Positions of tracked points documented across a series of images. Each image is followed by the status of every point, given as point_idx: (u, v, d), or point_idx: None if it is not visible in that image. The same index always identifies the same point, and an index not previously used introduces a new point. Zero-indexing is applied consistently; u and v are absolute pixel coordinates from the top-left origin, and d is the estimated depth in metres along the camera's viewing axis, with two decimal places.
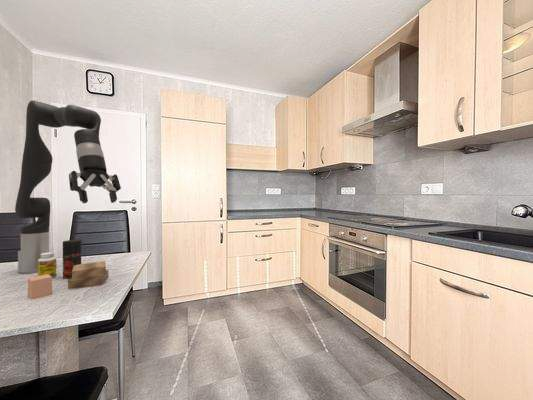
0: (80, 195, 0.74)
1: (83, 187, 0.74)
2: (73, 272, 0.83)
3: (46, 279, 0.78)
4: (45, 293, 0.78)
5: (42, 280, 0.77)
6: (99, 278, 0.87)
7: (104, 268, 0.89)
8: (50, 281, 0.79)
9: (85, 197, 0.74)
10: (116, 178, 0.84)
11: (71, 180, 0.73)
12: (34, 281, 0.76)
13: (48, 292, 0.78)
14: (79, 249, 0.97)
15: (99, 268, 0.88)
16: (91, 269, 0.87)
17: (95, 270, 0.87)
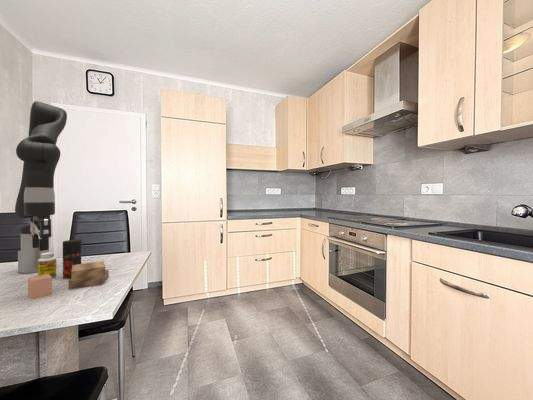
0: None
1: (31, 234, 0.80)
2: (72, 272, 0.83)
3: (46, 279, 0.78)
4: (45, 294, 0.78)
5: (42, 280, 0.77)
6: (99, 278, 0.87)
7: (104, 268, 0.89)
8: (50, 281, 0.79)
9: None
10: (40, 224, 0.74)
11: None
12: (34, 281, 0.76)
13: (48, 292, 0.78)
14: (79, 249, 0.97)
15: (99, 268, 0.88)
16: (91, 269, 0.86)
17: (95, 270, 0.87)
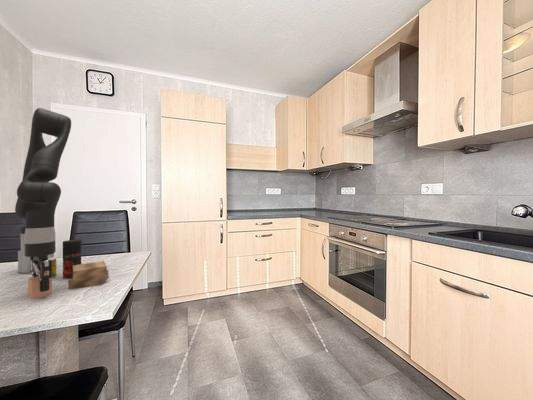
0: None
1: (32, 273, 0.80)
2: (74, 272, 0.83)
3: None
4: (45, 294, 0.78)
5: None
6: (99, 278, 0.87)
7: (105, 268, 0.89)
8: (50, 281, 0.79)
9: None
10: (41, 266, 0.74)
11: None
12: (34, 281, 0.76)
13: (48, 292, 0.78)
14: (79, 249, 0.97)
15: (100, 268, 0.88)
16: (92, 269, 0.87)
17: (96, 270, 0.88)
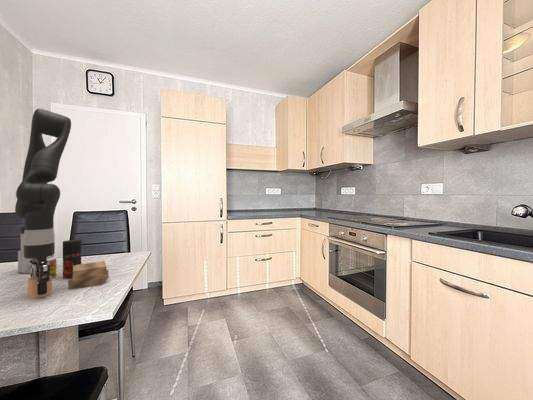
0: None
1: None
2: (74, 272, 0.83)
3: None
4: None
5: None
6: (99, 278, 0.87)
7: (105, 268, 0.89)
8: (50, 281, 0.79)
9: None
10: (39, 270, 0.74)
11: None
12: (34, 281, 0.76)
13: (48, 292, 0.78)
14: (79, 249, 0.97)
15: (100, 268, 0.88)
16: (92, 269, 0.87)
17: (96, 270, 0.87)
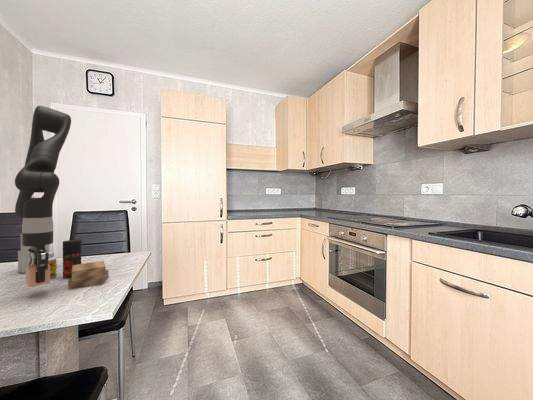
0: None
1: None
2: (73, 272, 0.83)
3: None
4: (43, 282, 0.78)
5: None
6: (99, 278, 0.87)
7: (104, 268, 0.89)
8: (48, 269, 0.79)
9: None
10: (37, 258, 0.74)
11: None
12: (32, 269, 0.75)
13: (46, 281, 0.78)
14: (79, 249, 0.97)
15: (99, 268, 0.88)
16: (91, 269, 0.87)
17: (95, 270, 0.87)
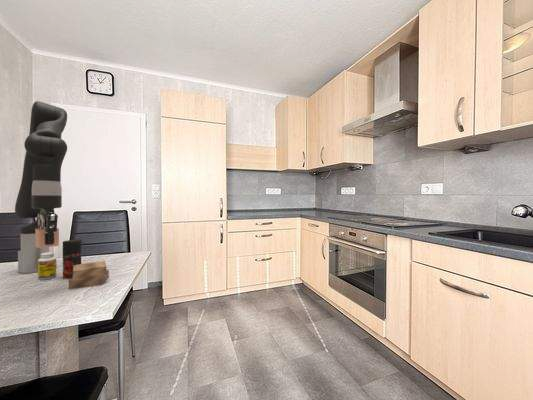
0: None
1: None
2: (74, 272, 0.83)
3: None
4: (52, 244, 0.79)
5: None
6: (99, 278, 0.87)
7: (105, 268, 0.89)
8: (57, 233, 0.80)
9: None
10: (47, 219, 0.76)
11: None
12: (41, 231, 0.77)
13: (55, 244, 0.80)
14: (79, 249, 0.97)
15: (100, 268, 0.88)
16: (92, 269, 0.87)
17: (96, 270, 0.87)
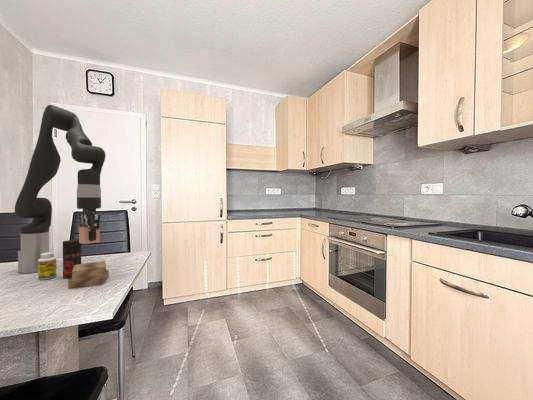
0: None
1: None
2: (73, 272, 0.83)
3: None
4: None
5: None
6: (99, 278, 0.87)
7: (104, 268, 0.89)
8: (98, 230, 0.90)
9: None
10: (91, 218, 0.86)
11: None
12: (86, 228, 0.87)
13: (96, 240, 0.90)
14: (79, 249, 0.97)
15: (99, 268, 0.88)
16: (91, 269, 0.87)
17: (95, 270, 0.87)
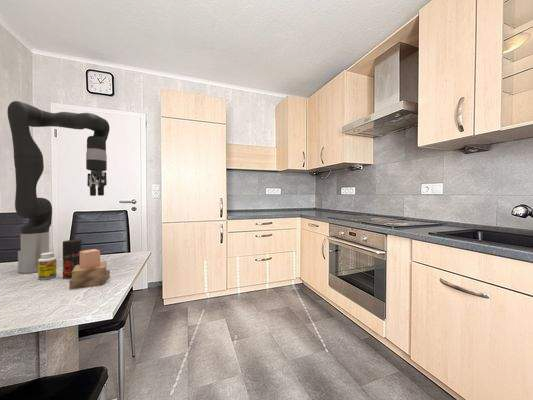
0: None
1: (89, 185, 1.06)
2: (73, 272, 0.83)
3: (95, 252, 0.89)
4: (94, 265, 0.89)
5: (92, 253, 0.88)
6: (100, 278, 0.87)
7: (104, 269, 0.88)
8: (99, 254, 0.90)
9: None
10: (99, 175, 1.00)
11: None
12: (86, 253, 0.87)
13: (97, 264, 0.90)
14: (79, 249, 0.97)
15: (99, 269, 0.88)
16: (91, 270, 0.86)
17: (95, 271, 0.87)
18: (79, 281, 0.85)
